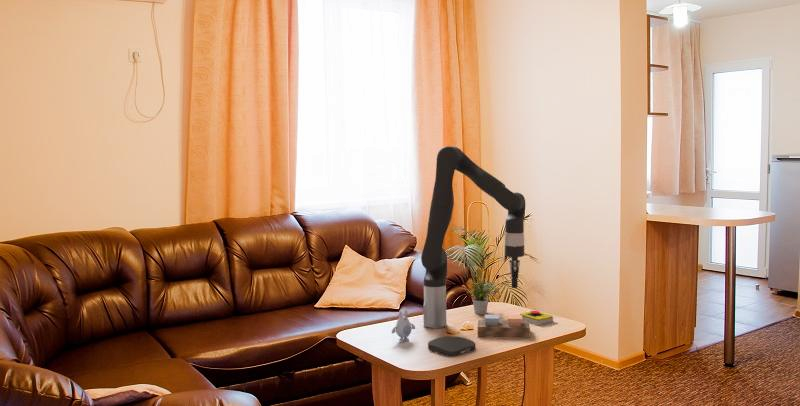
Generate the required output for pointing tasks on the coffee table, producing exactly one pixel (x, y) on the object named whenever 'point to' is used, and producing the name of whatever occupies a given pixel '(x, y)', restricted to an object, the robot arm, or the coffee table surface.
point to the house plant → (480, 296)
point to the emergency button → (538, 318)
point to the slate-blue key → (491, 319)
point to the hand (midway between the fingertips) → (514, 287)
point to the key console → (503, 330)
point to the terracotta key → (514, 320)
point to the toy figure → (403, 327)
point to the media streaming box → (451, 346)
